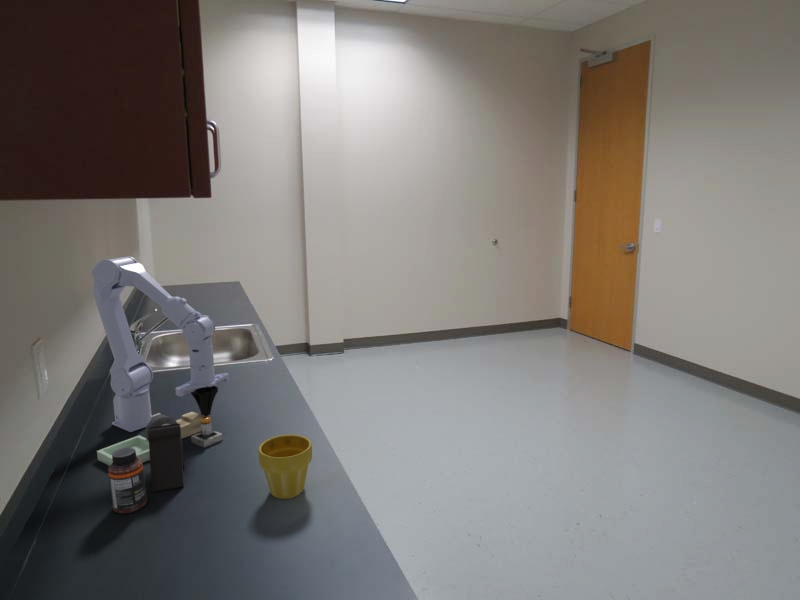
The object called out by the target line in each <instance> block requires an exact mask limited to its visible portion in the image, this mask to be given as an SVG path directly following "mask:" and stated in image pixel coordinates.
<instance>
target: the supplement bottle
mask: <svg viewBox="0 0 800 600" xmlns="http://www.w3.org/2000/svg"><path fill="white" fill-rule="evenodd" d="M112 460H113V462H112V463H111V464H110V466H108V468H107V471H108V472H107V473H108V479H109V480H108V481H109V489H110V495H111V496H110V497H111V504H112V508H113V511H114V512H115V513H117V514H130V513H131V514H132V513H134V512H136V511H139V510H140V509H141V508H143V507H145V506H146V505H147V501H148V498H147V495H148V494H147V487H146V480H145V472H144V470H145V469H144V464H143V462H142V460H141V459H140V458H138V457H136V450H135V449H134V448H121V449H118V450H116V451H115V452H113V454H112Z"/></svg>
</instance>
